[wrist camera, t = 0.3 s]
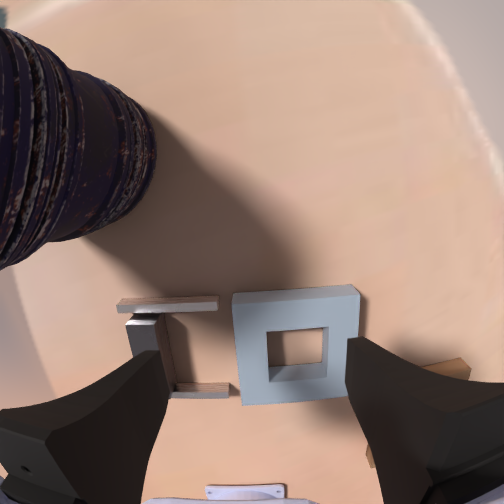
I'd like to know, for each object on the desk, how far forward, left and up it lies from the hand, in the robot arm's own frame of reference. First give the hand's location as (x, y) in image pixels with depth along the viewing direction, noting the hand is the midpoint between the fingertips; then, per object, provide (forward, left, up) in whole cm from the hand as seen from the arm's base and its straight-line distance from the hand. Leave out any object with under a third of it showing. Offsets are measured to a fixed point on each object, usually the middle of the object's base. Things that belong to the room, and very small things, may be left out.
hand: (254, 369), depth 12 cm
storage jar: (+10, +10, -10) cm, 17 cm away
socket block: (-4, -3, -10) cm, 11 cm away
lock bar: (-4, +7, -10) cm, 13 cm away
